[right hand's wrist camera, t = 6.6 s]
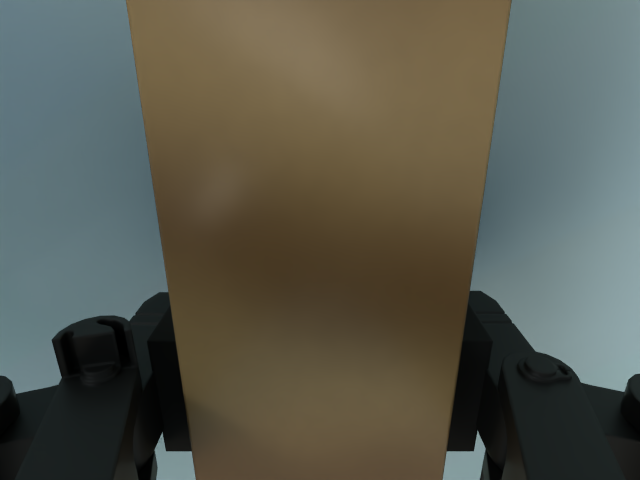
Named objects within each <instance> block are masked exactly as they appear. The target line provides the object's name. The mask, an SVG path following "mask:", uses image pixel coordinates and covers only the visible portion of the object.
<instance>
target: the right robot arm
mask: <svg viewBox="0 0 640 480" xmlns="http://www.w3.org/2000/svg"><path fill="white" fill-rule="evenodd" d="M52 343H53V347H54V350H55V354H56V358H57V362H58V365H59V369H60V373H61V376H62V379H61V381H60V383H59V385H55V386H52V387H48V388H43V389H38V390H33V391H28V392H23V393H18V394H16V393H15V390H14V387H13V384H12V381H10V380H9V379H8V378H7V377H5V376H0V480H156V476H157V461H156V455H155V450H154V449H155V447H156V445H157V443H158V440H159V438H160V436H161V434H162V431H163V437H164V443H165V448H166V451H192V449H191V442H190V436H189V429H188V422H187V415H186V408H185V401H184V394H183V388H182V381H181V374H180V367H179V360H178V353H177V347H176V340H175V333H174V326H173V319H172V312H171V305H170V299H169V292H159V293H158V294H156V295H154V296H153V297H151V298H150V299H148V300H147V301H145V302H144V303H143V304H142V306H141V307H140V308H139V309H138V311H137V312H136V315H135V316H133V317H132V318H131V320H130V321H128V320H126V319H125V318H123V317H118V316H97V317H93V318H88V319H84V320H81V321H79V322H76V323H73V324H71V325H69V326H68V327H66V328H64V329H63V330H61V331H59V332H58V333H57V335H56V336H55V337H54V338H53V339H52ZM477 430H478V432H479V434H480V436H481V439H482V441H483V443H484V445H485V448H486V450H485V455H484V461H483V466H482V471H481V477H480V480H640V374H635V375H634V376H632V377H631V378H630V379H629V380H628V383H627V386H626V389H625V392H621V391H616V390H611V389H607V388H602V387H597V386H592V385H588V384H584V383H581V382H580V380H579V378H578V376H577V375H576V374H575V372H574V371H573V370H572V369H571V368H570V367H569V366H567V365H566V364H565V363H563V362H562V361H560V360H558V359H556V358H554V357H552V356H549V355H547V354H543V353H539V352H535V350H534V349H533V348H532V347H531V345H530V344H529V343H528V341H527V340H526V339H525V338H524V336H523V335H522V334H521V332H520V331H519V330H518V329H517V327H516V326H515V325H514V324H512V321H511V319H510V318H509V317H508V316H507V314H505V313H504V310H503V309H502V308H501V307H500V305H499V304H498V303H497V301H496V300H494V299H493V298H491V297H489V296H488V295H486V294H485V293H483V292H481V291H470V292H469V299H468V306H467V313H466V320H465V327H464V334H463V341H462V348H461V355H460V362H459V368H458V375H457V382H456V389H455V396H454V403H453V410H452V417H451V424H450V431H449V438H448V445H447V451H474V447H475V441H476V436H477Z"/></svg>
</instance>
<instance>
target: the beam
mask: <svg viewBox="0 0 640 480" xmlns="http://www.w3.org/2000/svg"><path fill="white" fill-rule="evenodd" d="M511 1H512V0H126V4H127V11H128V18H129V24H130V31H131V38H132V45H133V52H134V59H135V66H136V72H137V79H138V86H139V93H140V100H141V107H142V114H143V120H144V127H145V134H146V141H147V148H148V155H149V161H150V168H151V175H152V182H153V189H154V196H155V203H156V209H157V216H158V223H159V230H160V237H161V244H162V251H163V257H164V264H165V271H166V278H167V285H168V292H169V299H170V305H171V312H172V319H173V326H174V333H175V340H176V347H177V353H178V360H179V367H180V374H181V381H182V388H183V394H184V401H185V408H186V415H187V422H188V429H189V436H190V442H191V449H192V456H193V463H194V470H195V477H196V480H442V479H443V472H444V466H445V459H446V452H447V445H448V438H449V431H450V424H451V417H452V410H453V403H454V396H455V389H456V382H457V375H458V368H459V362H460V355H461V348H462V341H463V334H464V327H465V320H466V313H467V306H468V299H469V292H470V285H471V278H472V271H473V265H474V258H475V251H476V244H477V237H478V230H479V223H480V216H481V209H482V202H483V195H484V188H485V181H486V174H487V167H488V161H489V154H490V147H491V140H492V133H493V126H494V119H495V112H496V105H497V98H498V91H499V84H500V77H501V70H502V63H503V57H504V50H505V43H506V36H507V29H508V22H509V15H510V8H511Z"/></svg>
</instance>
